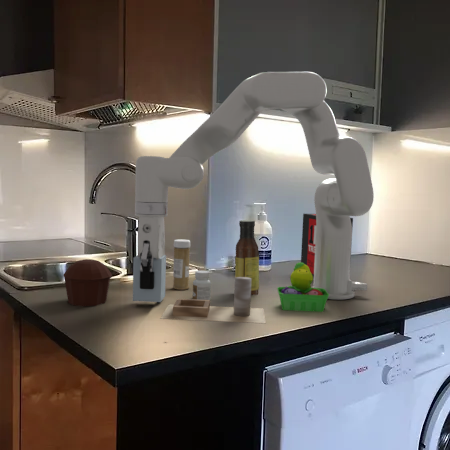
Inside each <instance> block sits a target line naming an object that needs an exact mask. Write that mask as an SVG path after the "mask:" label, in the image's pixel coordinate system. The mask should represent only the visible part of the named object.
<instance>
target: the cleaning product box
mask: <svg viewBox="0 0 450 450" xmlns="http://www.w3.org/2000/svg"><path fill="white" fill-rule="evenodd" d="M350 220H351V224H352V229H353V228H354V227H353V225H354V224H353V223H354V217H350ZM301 231H302V235H301V254H300V256H301V257H300V262H302V263H304V264H305V265H307V266H308V267H309V269H310V272H311V274H312V276H313V280H314V262H315V243H316V213H303V215H302V230H301ZM352 243H353V242H352ZM352 243H351V246H353V245H352ZM351 261H352V259H351V260H350V263H352V262H351ZM349 278H350V279H351V277H349Z"/></svg>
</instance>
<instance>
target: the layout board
mask: <svg viewBox="0 0 450 450" xmlns="http://www.w3.org/2000/svg"><path fill="white" fill-rule="evenodd" d="M233 296H234V297H233V306H215V305H211V299H210V300H198V299H193V298H177V299H176V300H175V302H174V304H171V303H170V304H168V305H167V307H166V308H165V310H164V311H163V313H162V314H161V316H160V318H159V319H163V320H184V321H203V322H204V321H206V322H224V323H225V322H226V323H227V322H229V323H251V324H266V323H267V322H266V316H265V310H264V308H262V307H261V308H259V307H251V300H252V299H251V298H252V295H251V278H248V277H236V278H235V277H234V295H233Z"/></svg>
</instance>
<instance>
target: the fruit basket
mask: <svg viewBox="0 0 450 450" xmlns="http://www.w3.org/2000/svg"><path fill="white" fill-rule="evenodd" d="M289 278H290V284H291V285H288V286H278V287H277V288H276V289H277V293H278V296H279V300H280V305H281V309H282V310H283V311H296V312H297V311H298V312H300V311H301V312H318V313H321V312H322V313H323V312H324V310H325V307H326V303H327V300H329V299H328V296H329V294H328V293H327V292H326V290H325V289H323V288H312V286H311V285H312V284H313V282H314V279H313V276H312V274H311V272H310V269H309V267H308V266H307V265H305V264H304V263H302V262H301V261H300V262H297V263H296V264H295V265H294V268H293V271H292V272H291V273H290V277H289Z"/></svg>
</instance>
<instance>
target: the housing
mask: <svg viewBox="0 0 450 450" xmlns="http://www.w3.org/2000/svg"><path fill="white" fill-rule="evenodd" d="M140 258H141V257H140ZM140 258H139V257H138V254H137V255H136V256H134V257H133V262H132V263H133V264H132V265H133V268H132V273H133V274H132V302H151V303H152V302H154V303H161V302H162V301H163V300H164V299H165V297H166V274H167V273H166V272H167V270H166V269H167V268H166V267H167V255H166V254H164V255H163V256H162V257H161V258H160V259H159V260H156V258H154V266H153V272H154V288H153V289H140V267H141V259H140ZM148 258H152V257H148ZM148 262H150V264H151V261H148Z"/></svg>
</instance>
